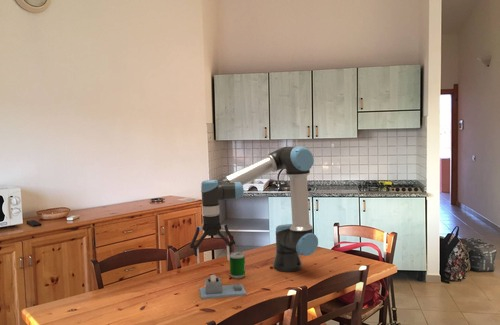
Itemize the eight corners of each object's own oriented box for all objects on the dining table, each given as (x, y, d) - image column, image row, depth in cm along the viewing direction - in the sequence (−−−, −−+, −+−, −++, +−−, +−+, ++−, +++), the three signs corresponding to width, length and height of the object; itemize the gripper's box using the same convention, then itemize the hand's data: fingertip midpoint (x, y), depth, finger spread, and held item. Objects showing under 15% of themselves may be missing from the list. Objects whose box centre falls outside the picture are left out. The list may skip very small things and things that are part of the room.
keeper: (242, 286, 200) (241, 269, 199) (246, 295, 188) (246, 277, 187) (199, 289, 196) (199, 272, 196) (201, 299, 184) (200, 281, 184)
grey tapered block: (220, 287, 195) (220, 277, 195) (222, 293, 188) (221, 282, 188) (205, 289, 194) (204, 278, 194) (206, 294, 187) (206, 283, 187)
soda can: (243, 279, 209) (242, 255, 208) (228, 278, 211) (228, 255, 210) (246, 274, 216) (246, 251, 216) (232, 273, 218) (231, 250, 217)
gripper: (237, 211, 195) (239, 256, 197) (182, 215, 191) (185, 261, 192) (240, 214, 188) (242, 261, 189) (183, 218, 183) (185, 266, 185)
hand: (213, 261), depth 191 cm, fingers open, 13 cm apart
